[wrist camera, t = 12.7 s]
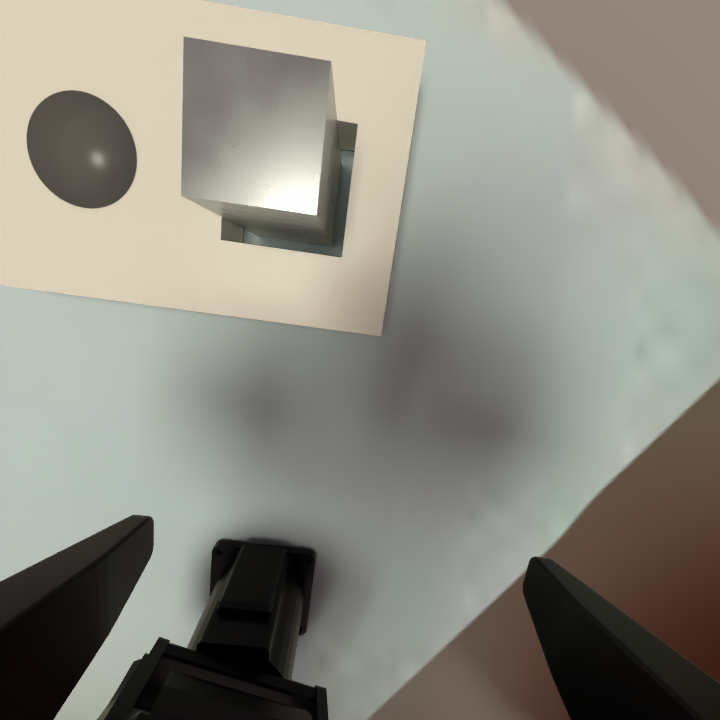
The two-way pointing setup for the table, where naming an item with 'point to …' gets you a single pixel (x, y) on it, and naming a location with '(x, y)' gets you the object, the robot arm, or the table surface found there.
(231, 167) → the square peg
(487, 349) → the table surface
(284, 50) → the socket plate
